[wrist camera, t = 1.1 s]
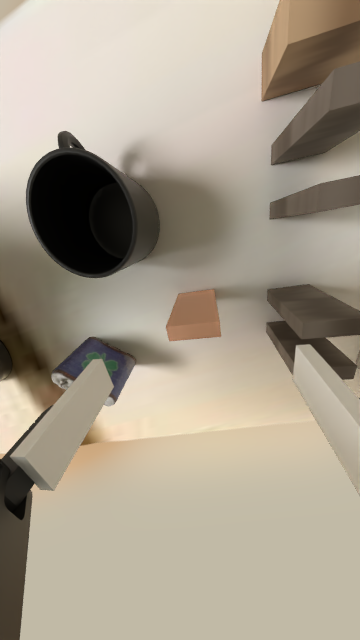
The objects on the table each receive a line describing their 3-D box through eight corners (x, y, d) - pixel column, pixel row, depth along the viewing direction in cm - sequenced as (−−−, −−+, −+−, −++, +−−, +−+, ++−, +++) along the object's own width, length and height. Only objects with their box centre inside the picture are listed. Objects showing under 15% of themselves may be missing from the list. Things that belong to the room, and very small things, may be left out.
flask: (138, 358, 33) (111, 412, 23) (132, 368, 34) (104, 424, 24) (89, 333, 31) (39, 379, 22) (84, 345, 33) (35, 393, 23)
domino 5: (266, 332, 28) (296, 381, 19) (266, 322, 27) (298, 369, 18) (303, 328, 27) (353, 379, 18) (304, 319, 26) (357, 365, 17)
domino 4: (267, 300, 26) (301, 339, 17) (267, 289, 25) (303, 323, 16) (307, 296, 25) (366, 334, 16) (308, 284, 24) (370, 317, 15)
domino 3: (269, 219, 21) (316, 212, 12) (269, 202, 21) (320, 183, 12) (317, 210, 21) (405, 195, 12) (319, 193, 20) (414, 163, 11)
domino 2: (271, 165, 19) (329, 110, 10) (271, 145, 19) (334, 69, 10) (324, 152, 18) (438, 81, 10) (327, 131, 18) (451, 33, 9)
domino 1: (180, 304, 27) (169, 341, 18) (178, 293, 27) (165, 326, 18) (215, 300, 26) (221, 336, 17) (213, 289, 26) (219, 321, 17)
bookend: (261, 101, 17) (287, 44, 12) (262, 53, 16) (291, -34, 11) (346, 76, 16) (417, 1, 11) (354, 22, 15) (438, -93, 10)
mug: (134, 133, 19) (85, 66, 11) (170, 250, 24) (153, 261, 16) (61, 170, 22) (-24, 135, 14) (107, 271, 26) (65, 289, 18)
